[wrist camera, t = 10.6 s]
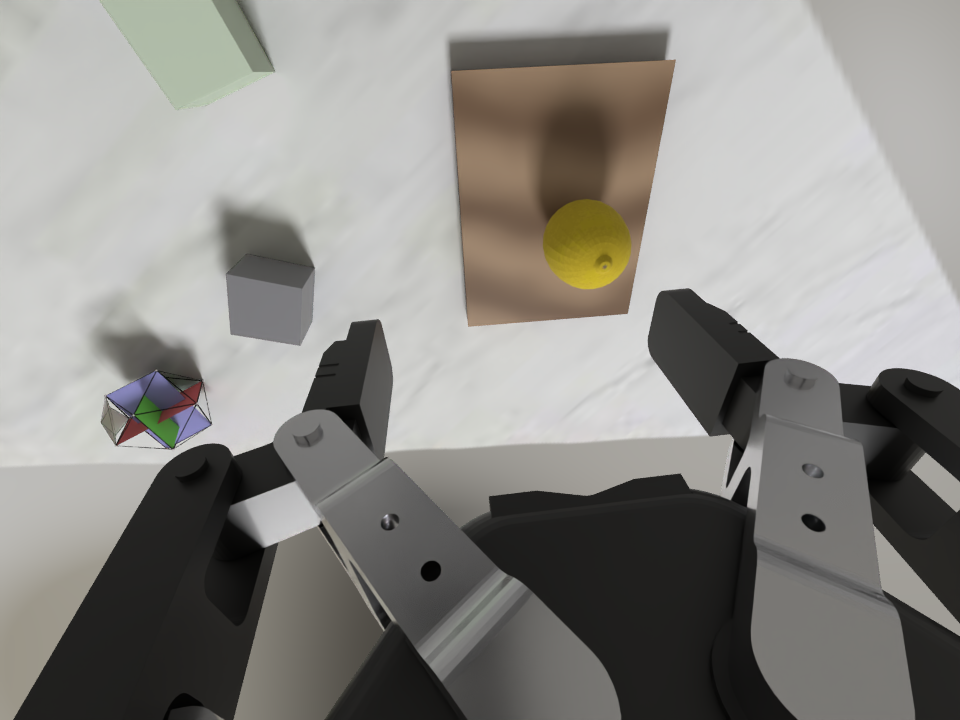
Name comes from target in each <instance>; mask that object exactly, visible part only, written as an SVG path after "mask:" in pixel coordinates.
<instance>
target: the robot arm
mask: <svg viewBox="0 0 960 720" xmlns="http://www.w3.org/2000/svg"><path fill="white" fill-rule="evenodd" d="M648 348H649V352H650V355H651V357H652V358H653V360H654V361H655V362H656V364H657V365H658V366H659V368H660V369H661V370H662V372H663V373H664V375H665V376H666V377H667V379H668V380H669V381H670V383H671V384H672V386H673V387H674V388H675V390H676V391H677V392H678V394H679V395H680V396H681V398H682V399H683V401H684V402H685V403H686V405H687V406H688V407H689V409H690V410H691V411H692V413H693V414H694V416H695V417H696V418H697V420H698V421H699V422H700V424H701V425H702V427H703V428H704V429H705V431H706V432H707V433H708V435H709V436H718V435H727V434H730V435H731V436H732V437H733V440H732V442H731V444H730V447H729V451H728V456H727V461H726V467H725V472H724V478H723V483H722V488H721V493H720V496H718V495H715V494H712V493H708V492H704V491H699V490H695V489H689V487H688V485H687V484H686V482H685V480H684V479H683V477H682V475H681V474H673V475H665V476H656V477H648V478H640V479H633V480H631V481H628V482H625V483H623V484H620V485H617V486H615V487H612V488H610V489H607V490H605V491H602V492H599V493H597V494H594V495H590V496H581V495H572V494H563V493H562V494H561V493H553V492H544V491H530V492H522V493H514V494H506V495H498V496H490V497H489V504H490V512H487V513H485V514H482V515H480V516H478V517H476V518H474V519H473V520H471V521H469V522H468V523H466V524H465V525H463V526H462V527H461V528H459V527H458V526H457V525H456V524H455V523H454V522H453V521H452V520H451V519H450V518H449V517H448V516H447V515H446V514H445V513H444V512H443V511H442V510H441V509H440V508H439V507H438V506H437V505H436V504H435V503H434V502H433V501H432V500H431V499H430V498H429V497H428V496H427V495H426V494H425V493H424V491H423V490H422V489H421V488H420V487H418V485H417V484H416V483H415V482H414V481H413V480H412V479H411V478H410V477H408V475H407V474H406V473H405V472H404V471H403V470H402V469H401V468H400V467H399V466H398V465H397V464H396V463H395V462H394V461H393V460H392V459H390V458H388V457H386V458H384V453H385V444H386V436H387V428H388V419H389V411H390V403H391V395H392V386H393V374H392V366H391V361H390V357H389V353H388V349H387V345H386V341H385V337H384V332H383V328H382V325H381V322H380V320H379V319H377V320H367V321H358V322H352V323H351V326H350V329H349V332H348V336H347V339H346V340H344V341H335V342H334V343H333V344H332V345H331V346H330V347H329V348H328V349H327V350H326V351H325V352H324V353H323V356H322V359H321V362H320V364H319V368H318V370H317V372H316V375H315V376H316V378H314V381H313V383H312V386H311V389H310V391H309V394H308V397H307V400H306V402H305V405H304V408H303V411H302V413H300V414H298V415H296V416H294V417H292V418H291V419H289V420H288V421H286V422H285V423H284V424H283V425H282V426H281V427H280V428H279V429H278V431H277V433H276V434H275V437H274V441H273V442H272V443H270V444H267V445H265V446H262V447H259V448H256V449H253V450H251V451H248V452H245V453H242V454H239V455H236V456H233V455H232V453H231V452H230V450H229V449H228V448H227V447H226V446H224V445H221V444H204V445H200V446H197V447H194V448H191V449H189V450H187V451H185V452H183V453H181V454H179V455H178V456H176V457H175V458H173V459H172V460H171V461H169V462H168V463H167V464H166V465H165V466H164V467H163V468H162V469H161V470H160V472H159V473H158V474H157V476H156V478H155V479H154V481H153V483H152V484H151V487H150V488H149V489H148V491H147V493H146V495H145V496H144V498H143V500H142V501H141V503H140V505H139V507H138V508H137V510H136V512H135V513H134V515H133V517H132V518H131V520H130V522H129V524H128V525H127V527H126V529H125V530H124V532H123V534H122V536H121V537H120V539H119V541H118V542H117V544H116V546H115V547H114V549H113V551H112V553H111V554H110V556H109V558H108V559H107V561H106V563H105V565H104V566H103V568H102V570H101V571H100V573H99V575H98V576H97V578H96V580H95V582H94V583H93V585H92V587H91V588H90V590H89V592H88V594H87V595H86V597H85V599H84V600H83V602H82V604H81V605H80V607H79V609H78V610H77V612H76V614H75V616H74V617H73V619H72V621H71V622H70V624H69V626H68V628H67V629H66V631H65V633H64V634H63V636H62V638H61V639H60V641H59V643H58V644H57V646H56V648H55V650H54V651H53V653H52V655H51V656H50V658H49V660H48V662H47V663H46V665H45V667H44V668H43V670H42V672H41V673H40V675H39V677H38V679H37V680H36V682H35V684H34V685H33V687H32V689H31V690H30V692H29V694H28V696H27V697H26V699H25V701H24V702H23V704H22V706H21V707H20V709H19V711H18V713H17V714H16V716H15V718H14V719H13V720H233V719H234V715H235V711H236V707H237V703H238V699H239V695H240V691H241V687H242V683H243V680H244V676H245V671H246V667H247V664H248V660H249V656H250V652H251V648H252V644H253V640H254V636H255V632H256V628H257V624H258V620H259V617H260V613H261V609H262V604H263V600H264V597H265V593H266V589H267V585H268V581H269V577H270V573H271V569H272V565H273V561H274V557H275V553H276V550H277V546H278V542H279V541H282V540H284V539H286V538H289V537H291V536H294V535H296V534H298V533H301V532H303V531H306V530H308V529H310V528H313V527H315V526H317V527H318V529H319V531H320V532H321V533H322V535H323V537H324V538H325V540H326V541H327V542H328V544H329V545H330V547H331V549H332V550H333V552H334V553H335V555H336V556H337V558H338V559H339V561H340V562H341V564H342V565H343V567H344V569H345V570H346V572H347V573H348V575H349V576H350V578H351V579H352V581H353V582H354V584H355V586H356V587H357V589H358V590H359V592H360V594H361V596H362V597H363V599H364V601H365V602H366V604H367V606H368V607H369V609H370V610H371V612H372V614H373V615H374V617H375V618H376V620H377V621H378V623H379V625H380V626H381V627H382V629H383V631H384V632H383V634H382V635H381V637H380V638H379V640H378V641H377V643H376V644H375V646H374V647H373V649H372V650H371V652H370V653H369V654H368V656H367V657H366V659H365V660H364V662H363V663H362V665H361V666H360V668H359V669H358V671H357V672H356V674H355V675H354V677H353V678H352V680H351V681H350V683H349V684H348V686H347V687H346V689H345V690H344V692H343V693H342V694H341V696H340V697H339V699H338V700H337V702H336V703H335V705H334V706H333V708H332V709H331V711H330V712H329V714H328V715H327V717H326V718H325V720H960V636H958V635H957V634H955V633H953V632H952V631H950V630H948V629H947V628H945V627H943V626H942V625H940V624H938V623H937V622H935V621H934V620H932V619H930V618H928V617H927V616H925V615H924V614H922V613H920V612H918V611H917V610H915V609H914V608H912V607H910V606H909V605H907V604H905V603H903V602H902V601H900V600H898V599H897V598H895V597H894V596H892V595H890V594H889V593H887V592H885V591H884V590H882V588H881V581H880V574H879V566H878V558H877V551H876V543H875V536H874V528H873V524H874V526H875V527H876V528H877V529H878V530H879V531H880V533H881V534H882V535H883V536H884V537H885V538H886V539H887V540H888V542H889V543H890V544H891V545H892V546H893V547H894V549H895V550H896V551H897V552H898V553H899V554H900V555H901V557H902V558H903V559H904V560H905V561H906V562H907V563H908V564H909V566H910V567H911V568H912V569H913V570H914V571H915V573H916V574H917V575H918V576H919V577H920V578H921V579H922V581H923V582H924V583H925V584H926V585H927V586H928V588H929V589H930V590H931V591H932V592H933V593H934V594H935V596H936V597H937V598H938V599H939V600H940V601H941V602H942V603H943V605H944V606H945V607H946V608H947V609H948V610H949V612H950V613H951V614H952V615H953V616H954V617H955V619H957V621H958V622H959V623H960V510H959V511H958V512H957V513H956V512H955V511H954V510H953V509H952V508H951V507H950V506H949V505H948V504H947V503H946V502H944V501H943V500H942V499H941V498H940V497H939V496H938V495H937V494H936V493H935V492H934V491H932V489H930V488H929V487H928V486H927V485H926V484H925V483H924V482H923V481H922V480H921V479H920V478H919V477H918V476H917V475H915V474H914V473H913V472H912V471H911V469H912V467H913V466H914V465H915V464H916V463H917V462H918V461H919V459H920V458H921V457H922V456H923V455H924V454H925V453H927V454H929V455H930V456H931V457H932V458H933V459H934V460H936V461H937V462H938V463H939V464H940V465H941V466H943V467H944V468H945V469H946V470H947V471H948V472H949V473H951V474H952V475H953V476H954V477H955V478H956V479H957V480H959V482H960V390H959V389H958V388H956V387H955V386H953V385H951V384H950V383H948V382H946V381H944V380H942V379H940V378H938V377H935V376H933V375H930V374H927V373H924V372H920V371H916V370H910V369H902V368H892V369H887V370H884V371H882V372H881V373H880V374H879V375H878V377H877V378H876V380H875V381H874V383H873V384H872V386H863V385H853V384H843V383H838V381H837V380H836V378H835V377H834V376H833V375H832V374H830V373H829V372H828V371H826V370H825V369H823V368H821V367H819V366H817V365H815V364H812V363H809V362H806V361H802V360H797V359H789V358H782V359H780V358H779V357H778V356H776V355H775V354H774V353H773V352H772V351H771V350H769V349H768V348H767V347H766V346H765V345H764V344H763V343H761V342H760V341H759V340H758V339H757V338H756V337H754V336H753V335H752V334H751V333H747V330H746V329H745V328H744V327H743V326H742V325H741V324H738V323H737V321H736V320H735V319H734V318H733V317H731V316H730V315H729V314H728V313H727V312H726V311H723V310H721V309H719V308H717V307H715V306H713V305H711V304H709V303H706V302H705V301H704V300H702V299H701V298H700V297H699V296H698V295H697V294H696V293H695V292H694V291H692V290H691V289H689V288H686V289H676V290H667V291H661V292H660V293H659V294H658V296H657V299H656V303H655V308H654V312H653V317H652V322H651V326H650V331H649V335H648Z"/></svg>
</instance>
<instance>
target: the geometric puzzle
mask: <svg viewBox="0 0 960 720" xmlns="http://www.w3.org/2000/svg"><path fill="white" fill-rule="evenodd" d="M160 372H162V371H160ZM160 372H159V371H157V370H155V371H154V372H152V373H150V374H148V375H146V376H144V377H142V378H140V379H138V380H136V381H134V382H132V383H130V384H128V385H126V386H124V387H122V388H120V389H118V390H116V391H114V392H112V393H110V394H108V395H104V397H105V401H104V407H103V413H102V419H101V424H102V425H103V427H104V428H105V430H106V431H107V433H108V435H109V436H110V438H111V439H112V441H113V442H114V444H115V447H117V446H118V445H119V444H121V443H122V442H124V441H126V440H128V439H130V438H132V437H134V436H136V435H138V434H140V433H142V432H143V431H145V430H146V431H145V432H146V433H148V434H149V435H150V434H151V435H150V436H151V437H153V438H154V439H155V440H156V441H158V442H159V443H160V444H162V445H163V446H164V447H165V448H156V449H168V448H171V449H172V450H174V449H175V448H176V447H175V446H176V444H177V443H179V442H181V441H183V440H185V439H187V438H188V437H190V436H192V435H194V434H196V433H197V434H198V432H199V433H200V431H201V430H202V431H203V429H204V430H205V429H206V428H208V427H209V426H212V425H213V424H212V422H210V421H209V419H208V418H207V417H206V415H205V414H204V412H203V411H202V409H201V408H200V407H199V405H198V399H199V395H200V391H201V387H202V383H203V382H204V380H198V379H196V380H195V381H201V382H199V383H197V384H195V385H194V386H192V387H190V388H188V389H186V390H184V391H182V390H181V389H179V388H178V387H177V386H176V385H175V384H173V383H172V382H171V381H170V380H168V379H167V378H169V377H165V376H164V375H162V374H161V373H160ZM164 373H166V372H164ZM169 374H171V373H169ZM173 375H175V374H173ZM178 376H180V375H178ZM182 377H184V376H182ZM187 378H189V377H187ZM166 379H167V380H168V381H169V382H170V383H172V384H173V385H174V386H175V387H176V388H178V389H179V390H180V391H181V392H180V393H179V392H178V391H177V390H176V389H175V388H174V387H173V386H172V385H171V384H170V383H169V382H168V381H167V380H166ZM173 379H180V378H173ZM191 379H193V378H191ZM191 379H184V380H191ZM203 386H204V384H203ZM204 391H205V389H204ZM205 396H206V393H205ZM107 398H108V399H109V400H110V401H111V402H112V403H113V404H114V405H115V404H116V405H115V406H116V407H117V408H118V409H119V410H120V411H121V412H122V413H123V414H124V415H125V416H124V415H122V414H121V413H119V412H117V411H116V410H114V409H112V408H111V407H110V406H109V403H108V401H107ZM206 400H207V398H206ZM195 404H196V405H198V407H199V408H200V410H201V411H202V413H203V414H204V415H205V417H206V418H207V419H206V418H205V417H204V416H203V415H202V414H201V413H200V412H199V411H198V410H196V409H195V407H196V405H195ZM193 405H195V407H193ZM207 405H208V403H207ZM122 410H123V411H124V412H125V413H126V414H127V415H128V416H130V417H128V416H127V415H126V414H125V413H124V412H123V411H122ZM208 410H209V408H208ZM209 415H210V413H209ZM210 420H211V417H210ZM126 422H127V423H126ZM125 423H126V425H125ZM124 425H125V427H124V429H123V431H122V433H121V435H120V437H119V439H118V441H117V443H116V434H117V433H118V432H119V431H120V430H121V428H122V427H123V426H124ZM197 434H196V435H197ZM194 436H195V435H194ZM194 436H193V437H194ZM191 438H192V437H191ZM188 440H189V439H188ZM186 441H187V440H186ZM186 441H185V442H186ZM183 443H184V442H183ZM183 443H182V444H183ZM180 445H181V444H180ZM124 447H131V446H124ZM177 447H178V446H177ZM140 448H149V447H140Z"/></svg>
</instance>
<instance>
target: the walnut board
mask: <svg viewBox="0 0 960 720" xmlns="http://www.w3.org/2000/svg"><path fill="white" fill-rule="evenodd" d="M675 61H676V60H660V61H640V62H620V63H600V64H580V65H560V66H540V67H520V68H500V69H480V70H460V71H451V81H452V95H453V110H454V125H455V140H456V155H457V170H458V185H459V200H460V215H461V230H462V245H463V260H464V275H465V290H466V305H467V319H468V327H470V326H482V325H494V324H507V323H519V322H532V321H544V320H556V319H569V318H581V317H594V316H606V315H618V314H628V309H629V304H630V298H631V293H632V288H633V283H634V277H635V272H636V267H637V262H638V256H639V251H640V246H641V240H642V235H643V230H644V225H645V219H646V214H647V209H648V204H649V198H650V193H651V188H652V183H653V177H654V172H655V167H656V161H657V156H658V151H659V146H660V140H661V135H662V130H663V125H664V119H665V114H666V109H667V103H668V98H669V93H670V88H671V82H672V77H673V72H674V67H675ZM583 199H590V200H597V201H600V202H602V203H605V204H607V205H609V206H611V207H612V208H613V209H614V210H615V211H616V212H617V213H618V214H619V215H620V216H621V217H622V218H623V220H624V222H625V224H626V225H627V227H628V229H629V233H630V238H631V255H630V258H629V262H628V264H627V266H626V267H625V269H624V271H623V272H622V273H621V274H620V275H619V277H618V278H617V279H615V280H614V281H613V282H611V283H610V284H607V285H605V286H603V287H600V288H596V289H580V288H576V287H573V286H571V285H569V284H567V283H565V282H564V281H562V280H561V279H559V278H558V277H557V276H556V274H555V273H554V272H553V271H552V270H551V269H550V267H549V265H548V263H547V261H546V259H545V255H544V250H543V235H544V232H545V229H546V225H547V224H548V222H549V220H550V219H551V217H552V216H553V215H554V214H555V213H556V212H557V210H559V209H560V208H561V207H563V206H564V205H566V204H568V203H570V202H573V201H576V200H583Z"/></svg>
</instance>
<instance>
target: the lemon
mask: <svg viewBox="0 0 960 720" xmlns="http://www.w3.org/2000/svg"><path fill="white" fill-rule="evenodd" d="M543 250H544V255H545V259H546V261H547V263H548V265H549V267H550V269H551V270H552V271H553V272H554V273H555V274H556V276H557V277H558V278H559V279H561V280H562V281H564V282H565V283H567V284H569V285H571V286H573V287H576V288H580V289H596V288H600V287H603V286H605V285H607V284H610V283H611V282H613V281H614V280H615V279H617V278H618V277H619V275H620V274H621V273H622V272H623V271H624V269H625V267H626V266H627V264H628V262H629V258H630V255H631V238H630V233H629V229H628V227H627V225H626V224H625V222H624V220H623V218H622V217H621V216H620V215H619V214H618V213H617V212H616V211H615V210H614V209H613V208H612V207H611V206H609V205H607V204H605V203H602V202H600V201H597V200H590V199H583V200H576V201H573V202H570V203H568V204H566V205H564V206H563V207H561V208H560V209H559V210H557V212H556V213H555V214H554V215H553V216H552V217H551V219H550V220H549V222H548V224H547V225H546V229H545V232H544V235H543Z"/></svg>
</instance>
